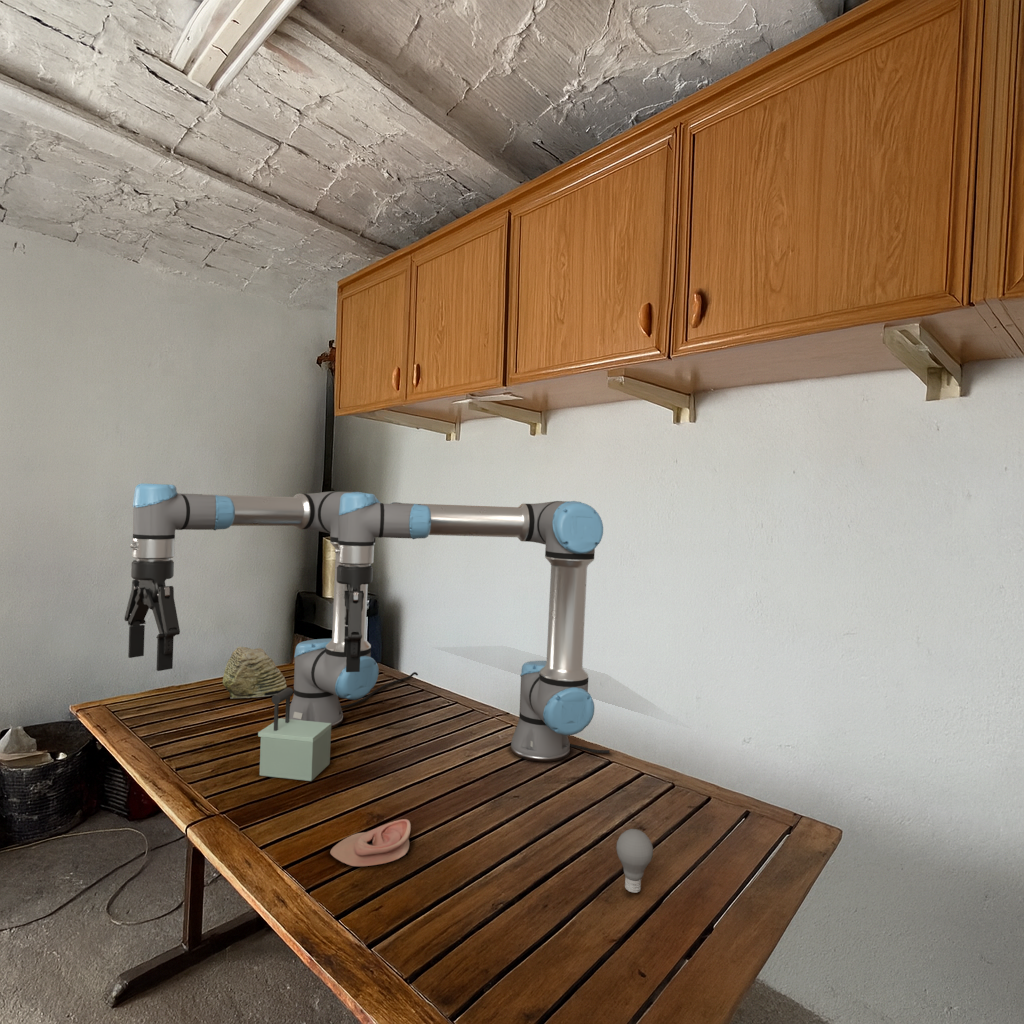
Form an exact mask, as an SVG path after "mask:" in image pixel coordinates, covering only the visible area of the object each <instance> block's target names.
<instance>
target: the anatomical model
mask: <svg viewBox="0 0 1024 1024" xmlns="http://www.w3.org/2000/svg"><path fill="white" fill-rule="evenodd" d="M411 825H412V824H411V822H410V820H409V819H406V818H404V819H403V818H402V819H396V820H394V821H391V822H387V823H385V824H382V825H380V826H377V827H375V828H373V829H370V830H367V831H363V832H358V833H354V834H352V835H349V836H348V837H345V838H344V839H342V840H341V841H339V842H338V843H336V844H335V845H334V846H332V848H331V849H330V850H329V851H330V852H329V854H330V855H331V856H332V857H333V858H334V859H335V860H337V861H339V862H341V863H342V864H344V865H345V864H346V865H347V866H351V867H368V866H369V867H370V866H377V865H383V864H387V863H391V862H394V861H397V860H399V859H400V858H402V857H404V856H405V855H406V854H407V853H408V852H409V849H410V839H409V837H410V834H411V830H412V829H411V828H412V826H411Z"/></svg>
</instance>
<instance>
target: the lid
mask: <svg viewBox="0 0 1024 1024" xmlns="http://www.w3.org/2000/svg"><path fill="white" fill-rule="evenodd" d="M291 696H294V688H292V687H286V689H285V690H283V691H281V692H279V693H278V694H276V695H272V697H271V703H272V704H274V708H273V709H274V711H273V722H272V723H271V724H269V725H267V726H266V727H264V728H263V729H261V730H259V731H258V732H257V737H260V738H261V737H267V738H277V739H287V740H296V741H306V742H314V741H315V740H316V739H317V738H319V737H320V736H321V735H322V734H323V733H325V732H326V731H327V730H328V729H330V728H331V723H324V722H314V721H303V720H293V719H289V715H290V704H291ZM284 701H285V716H284V718H282V717H281V718H279V709H280V704H281V703H282V702H284Z"/></svg>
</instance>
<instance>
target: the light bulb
mask: <svg viewBox="0 0 1024 1024" xmlns="http://www.w3.org/2000/svg"><path fill="white" fill-rule="evenodd" d="M615 849H616V854H617V857H618V859H619V861H620V863H621V865H622V867H623V873H624V874H623V875H624V876H625V878H624V888H625V890H627V891H628V892H630V893H634V894H635V893H639V892H640V891H641V889H642V887H641V886H642V879H643V877H644V875H645V871H646V868H647V867H648V866H649V864H650V863H651V861H652V859H653V855H654V847H653V843H652V841H651V838H649V836H648V835H647V834H646V833H645V832H643V831H642V830H641V829H636V828H629V829H627V830H625V831H623V832H622V833H621V834H620V835H619V837H618V839H617V841H616V847H615Z"/></svg>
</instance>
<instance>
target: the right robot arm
mask: <svg viewBox="0 0 1024 1024" xmlns="http://www.w3.org/2000/svg"><path fill="white" fill-rule="evenodd" d="M364 493H365V492H363V493H344V494H343V495H342V496H341V498H340V508H339V529H338V547H339V549H335V548H334V553H335V554H336V553H339V554H338V563H340V565H338V567H337V582H338V583H340V584H347V586H346V587H347V591H344V599H345V607H346V614H345V625H348V626H345V636H344V656H347V657H346V672H360V650H361V638H362V635H361V625H362V610H363V600H364V593H363V591H360V585H362V584H368V585H369V584H371V583H372V582H373V579H374V577H373V576H374V575H373V574H374V567H373V566H372V564H374V562H375V561H374V558H375V545H374V537H376V538H378V539H379V538H390V539H411V540H416V539H426V538H428V537H429V536H451V537H484V538H485V537H488V538H491V537H492V538H517V539H518V540H519V541H520V542H527V543H528V542H529V543H536V544H541V545H544V546H545V551H544V559H546V560H547V561H548V563H549V564H550V578H549V579H550V583H549V603H548V623H547V643H546V660H530V661H527V662H524V663H523V664H522V665H521V672H520V691H519V713H518V715H519V717H518V722H517V724H516V727H515V729H514V732H513V734H512V735H513V736H512V737H511V742H510V750H511V753H512V754H514V755H515V756H516V757H517V758H519V759H523V760H526V761H530V762H535V763H536V762H537V763H553V762H558V761H563V760H565V759H566V758H568V757H569V756H570V754H571V748H573V749H577V750H582V751H585V752H588V753H593V754H610V751H611V750H609V749H594V748H590V747H585V746H582V745H577V744H573V743H571V742H570V739H569V736H574V735H577V734H579V733H581V732H582V731H584V729H586V728H587V727H588V726H589V725H590V723H591V722H592V720H593V718H594V715H595V702H594V699H593V697H592V695H591V694H590V692H589V673H588V671H586V669H585V668H584V667H583V662H584V641H585V621H586V602H587V601H586V600H587V581H588V567H589V566H590V565H591V563H593V562H594V561H595V553H596V552H595V551H596V548H597V547H598V546H599V545H600V543H601V541H602V539H603V536H604V523H603V520H602V517H601V516H600V514H599V513H598V511H597V510H596V509H595V508H594V507H592V506H591V505H589V504H587V503H585V502H582V501H576V500H571V501H570V500H569V501H567V500H565V501H564V500H553V501H546V502H538V503H537V502H536V503H521V504H520V505H519V506H518V507H517V506H492V505H491V506H490V505H467V504H466V505H464V504H436V503H435V504H434V503H410V502H409V503H406V502H405V503H404V502H391V503H384V502H383V503H382V502H380V503H376V498H377V497H376V496H377V495H375V493H367V494H364Z"/></svg>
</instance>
